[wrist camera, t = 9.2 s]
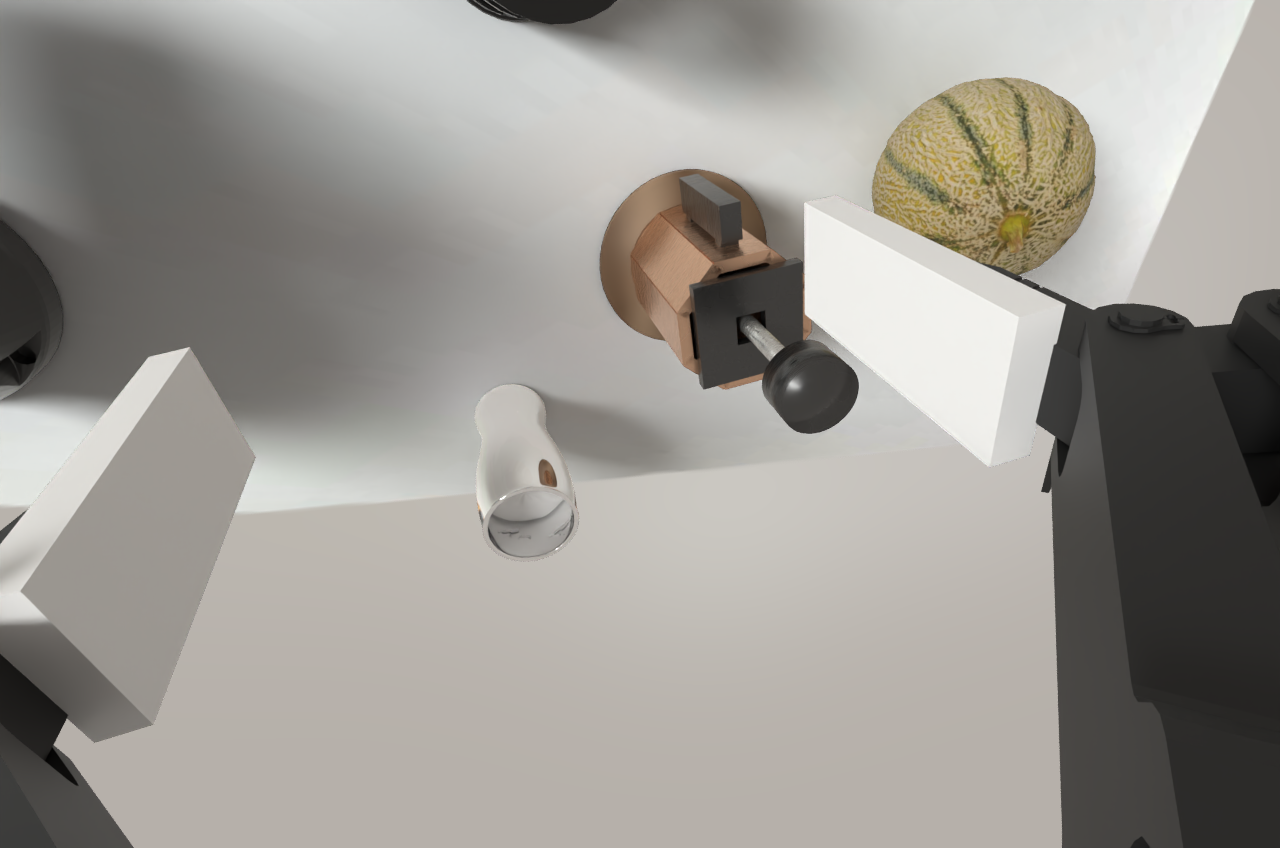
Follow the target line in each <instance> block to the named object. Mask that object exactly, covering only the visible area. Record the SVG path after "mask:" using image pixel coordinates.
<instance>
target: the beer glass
mask: <svg viewBox="0 0 1280 848" xmlns="http://www.w3.org/2000/svg"><path fill="white" fill-rule="evenodd" d="M474 419H475V424H476V427H477V430H478V432H479V434H480V436H481V438H482V444H481V450H480V454H479V459H478V464H477V471H476V498H477V505H478V511H479V515H480V520H481V524H482V528H483V536H484V539H485V541H486V543H487V545H488V546H489V547H490V548H491V549H492V550H493V551H494V552H495V553H496V554H498V555H500V556H502V557H504V558H507V559H510V560H514V561H535V560H540V559H544V558H546V557H549V556H551V555H553V554H555V553H557V552H559V551H560V550H561V549H563V548H564V547H565V546H566V545H567V544H568V543H569V542H570V541H571V540H572V538H573V537H574V535H575V533H576V531H577V528H578V524H579V514H578V510H577V507H576V499H575V493H574V487H573V483H572V479H571V475H570V472H569V470H568V467H567V464H566V462H565V460H564V458H563V456H562V454H561V452H560V450H559V449H558V447H557V445H556V444H555V442H554V441H553V439H552V438H551V436H550V435H549V433H548V431H547V430H546V426H545V425H546V409H545V405H544V403H543V401H542V399H541V398H540V396H539V395H538V394H537V393H536V392H535V391H533V390H532V389H530V388H528V387H526V386H522V385H518V384H506V385H501V386H498V387H495V388H493V389H491V390H490V391H488V392H487V393H486V394H484V395H483V396H482V398H481V399H480V400H479V402H478V404H477V406H476V409H475V414H474Z"/></svg>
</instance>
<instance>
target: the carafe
mask: <svg viewBox="0 0 1280 848" xmlns="http://www.w3.org/2000/svg"><path fill="white" fill-rule="evenodd" d="M679 183H680V192H681V201H682V204H681V205H677V206H674V207H671V208H669V209H667V210H665V211H661V212H659V213H657V215H656V216H655V218H653V219H652V220H651V221H650V222H649V223H648V224H647V225H646V227H645V228H644V229H643V230H642V232H641V234H640V235H639V237H638V239H637V241H636V243H635V246H634V249H633V250H632V252H631V253H630V254H631V255H630V259H631V274H632V279H633V283H634V285H635V290H636V296H637V300H638V301H639V303H640V304H641V306H642V307H643V308H644V310H645V311H646V313H647V314H648V316H649V317H650V318H651V320H652V321H653V323H654V324H655V326H656V327H657V329H658V330H659V331H660V333H661V334H662V336H663V337H664V339H665V340H666V342H667V343H668V344H669V346H670V347H671V349H672V350H673V352H674V353H675V354H676V356H677V357H678V359H679V360H680V362H681V363H682V365H683V366H684V367H686V368H688V369H689V370H691V371H693V372H694V373H696V374H698V375H699V381H700V385H701V386H702V388H703V389H707V388H711V387H715V386H719V387H720V388H722V389H725V390H726V389H729V388H733V387H737V386H740V385H744V384H748V383H751V382H755V381H759V380H762V379H763V375H764V372H765V369H766V367H767V365H768V364H769V362H770V361H769V360H768V359H767V358H766V357H765V356H764V355H763V354H762V352H761V351H760V350H759V349H758V348H757V347H756V346H755V345H754V344H753V343H752V342H751V341H750V340H749V339H748V338H747V337H746V336H745V334H744V333H743V332H742V331H741V330H740V329H739V328H738V327H737V326H736V318H737V317H741V316H744V315H748V314H751V315H752V316H753V317H754V318H755V319H756V320H757V321H758V322H760V323H761V324H762V325H763V326H764V327H765V328H766V329H767V330H768V331H769V332H770V333H771V334H772V335H773V336H774V337H775V338H776V339H777V340H778V341H779V342H780V343H781V344H782V345H783V346H784V347H786V346H788V345H790V344H792V343H794V342H797V341H802V340H805V339H806V338H807V337H808V335H809V334H810V333H811V332H810V331H811V319H810V318H809V317H808V316H806V315H805V274H804V273H803V262H802V261H801V260H799V259H798V258H794V259H790V260H785V259H784V258H783V257H782V256H780V255H779V254H778V253H776V252H775V251H774V250H772V249H771V248H770V247H768V246H767V245H766V244H764V243H763V242H761V241H760V240H759V239H757V238H756V237H754V236H753V235H752V234H750V233H749V232H748V231H746V230H745V229H743V228H742V217H741V201H739V200H738V199H736V198H735V197H733V196H732V195H730V194H729V193H727V192H725V191H724V190H722V189H721V188H719V187H718V186H716V185H715V184H713V183H711V182H710V181H708V180H707V179H705V178H704V177H702V176H701V175H699V174H694V175H689V176H685V177H681V178H679ZM730 271H733V274H730V275H726V276H722V277H718V275H719V274H721V273H725V272H730ZM717 277H718V278H717Z"/></svg>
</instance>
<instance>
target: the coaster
mask: <svg viewBox="0 0 1280 848" xmlns="http://www.w3.org/2000/svg"><path fill="white" fill-rule="evenodd" d="M694 174H699V175H701V176H702V177H704V178H705V179H707V180H708V181H710V182H711V183H713V184H715V185H716V186H718V187H719V188H721V189H722V190H724V191H725V192H727V193H729V194H730V195H732V196H733V197H735V198H736V199H738V200H739V201H741V217H742V228H743V229H745V230H746V231H748V232H749V233H750V234H752V235H753V236H754V237H756V238H757V239H759V240H760V241H761V242H763V243H764V244H766V245H767V241H766V232H765V227H764V223H763V220H762V217H761V215H760V212H759V210H758V208H757V206H756V205H755V203H754V201H753V200H752V199H751V198H750V196H749V195H748V194H747V193H746V192H745V191H744V190H743V189H742V188H741V187H740V186H739V185H737V184H736V183H734V182H733V181H731V180H730V179H728V178H726V177H724V176H722V175H719V174H717V173H714V172H710V171H706V170H699V169H684V170H677V171H672V172H669V173H665V174H662V175H660V176H658V177H655V178H653V179H651V180H650V181H648V182H646V183H645V184H643V185H641V186H640V187H639V188H638V189H636V190H635V191H634V192H633V193H631V194H630V195H629V197H628V198H627V199H626V200H625V201H624V202H623V203H622V204H621V206H620V207H619V208H618V210H617V211H616V212H615V214H614V216H613V217H612V219H611V221H610V223H609V225H608V227H607V230H606V232H605V235H604V239H603V242H602V246H601V253H600V275H601V281H602V285H603V289H604V291H605V294H606V296H607V299H608V301H609V302H610V304H611V306H612V307H613V309H614V311H615V312H616V313H617V314H618V316H619V317H620V318H621V319H622V320H623V321H624V322H625V323H626V324H627V325H628V326H630V327H631V328H633V329H634V330H636V331H637V332H639V333H641V334H643V335H645V336H648V337H651V338H654V339H659V340H664V341H666V340H665V339H664V337H663V336H662V334H661V333H660V331H659V330H658V329H657V327H656V326H655V324H654V323H653V321H652V320H651V318H650V317H649V316H648V314H647V313H646V311H645V310H644V308H643V307H642V306H641V304H640V303H639V301H638V300H637V296H636V290H635V285H634V283H633V279H632V274H631V259H630V255H631V254H630V253H631V252H632V250H633V249H634V246H635V243H636V241H637V239H638V237H639V235H640V234H641V232H642V230H643V229H644V228H645V227H646V225H647V224H648V223H649V222H650V221H651V220H652V219H653V218H655V216H656V215H657V213H659V212H661V211H665V210H667V209H669V208H671V207H674V206H677V205H681V204H682V201H681V192H680V183H679V178H681V177H685V176H689V175H694Z"/></svg>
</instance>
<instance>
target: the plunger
mask: <svg viewBox="0 0 1280 848" xmlns="http://www.w3.org/2000/svg"><path fill="white" fill-rule="evenodd" d="M730 274H733V271H730V272H725V273H721V274H719V275H718V277H722V276H726V275H730ZM718 277H717V278H718ZM736 326H737V327H738V328H739V329H740V330H741V331H742V332H743V333H744V334H745V336H746V337H747V338H748V339H749V340H750V341H751V342H752V343H753V344H754V345H755V346H756V347H757V348H758V349H759V350H760V351H761V352H762V354H763V355H764V356H765V357H766V358H767V359H768V360H769V361H770V362H769V364H768V365H767V367H766V369H765V372H764V375H763V379H762V389H763V393H764V396H765V398H766V399H767V401H768V402H769V403H770V404H771V405H772V407H773V408H774V409H775V410H776V411H777V413H778V414H779V415H780V416H781V417H782V418H783V420H784V421H785V422H786V423H787V424H788V425H789V426H790V427H791V428H792V429H793V430H795V431H797V432H800V433H806V434H812V433H818V432H822V431H825V430H827V429H829V428H831V427H833V426H834V425H836V424H837V423H839V422H840V421H841V420H842V419H843V418H844V417H845V416H846V415H847V414H848V413H849V411H850V410H851V408H852V407H853V405H854V403H855V401H856V398H857V395H858V389H859V383H858V378H857V375H856V373H855V372H854V370H853V369H852V368H851V367H850V366H849V365H847V364H846V363H845V362H844V361H843V360H842V359H840V358H839V357H838V356H837V355H836V354H835V353H834V352H832V351H831V350H830V349H829V348H828V347H827V346H825V345H824V344H822V343H821V342H818V341H814V340H802V341H797V342H794V343H792V344H790V345H788V346H786V347H784V346H783V345H782V344H781V343H780V342H779V341H778V340H777V339H776V338H775V337H774V336H773V335H772V334H771V333H770V332H769V331H768V330H767V329H766V328H765V327H764V326H763V325H762V324H761V323H760V322H758V321H757V320H756V319H755V318H754V317H753V316H752V315H751V314H748V315H744V316H741V317H737V318H736Z"/></svg>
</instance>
